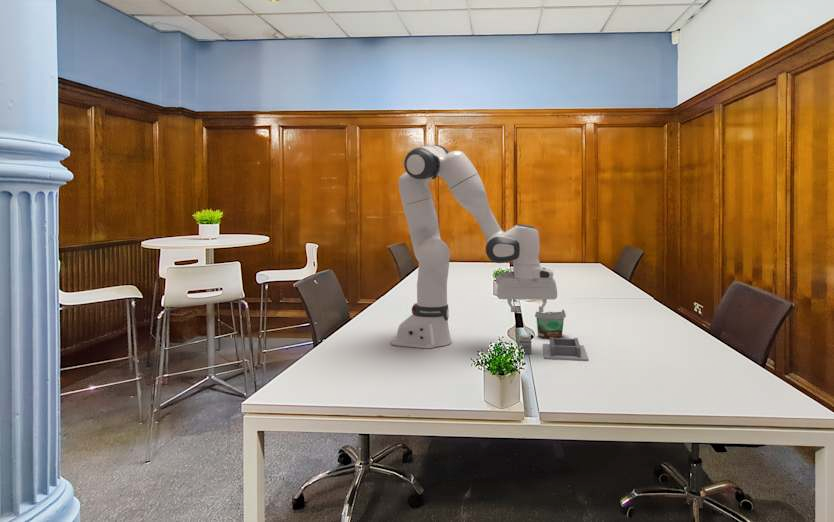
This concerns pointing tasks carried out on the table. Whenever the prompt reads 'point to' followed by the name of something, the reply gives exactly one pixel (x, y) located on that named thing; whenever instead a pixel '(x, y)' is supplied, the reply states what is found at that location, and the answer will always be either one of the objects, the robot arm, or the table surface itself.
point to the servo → (525, 343)
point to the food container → (550, 324)
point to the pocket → (564, 350)
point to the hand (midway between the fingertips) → (527, 311)
